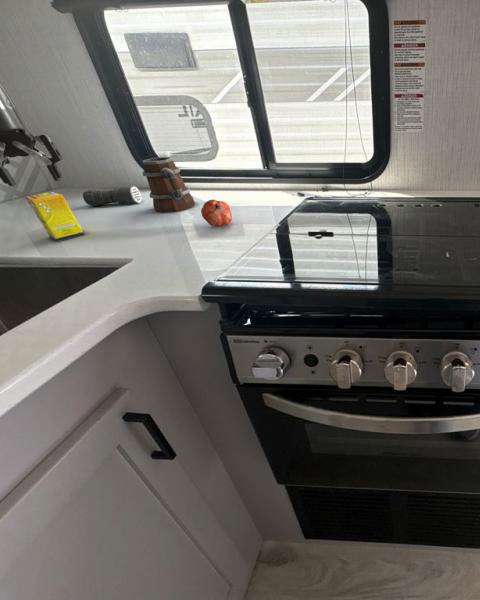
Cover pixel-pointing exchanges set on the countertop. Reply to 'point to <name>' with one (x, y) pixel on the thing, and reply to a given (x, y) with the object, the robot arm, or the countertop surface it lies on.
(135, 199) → the flashlight
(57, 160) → the robot arm
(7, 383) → the countertop surface
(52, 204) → the supplement box
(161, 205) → the mug
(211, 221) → the pomegranate
